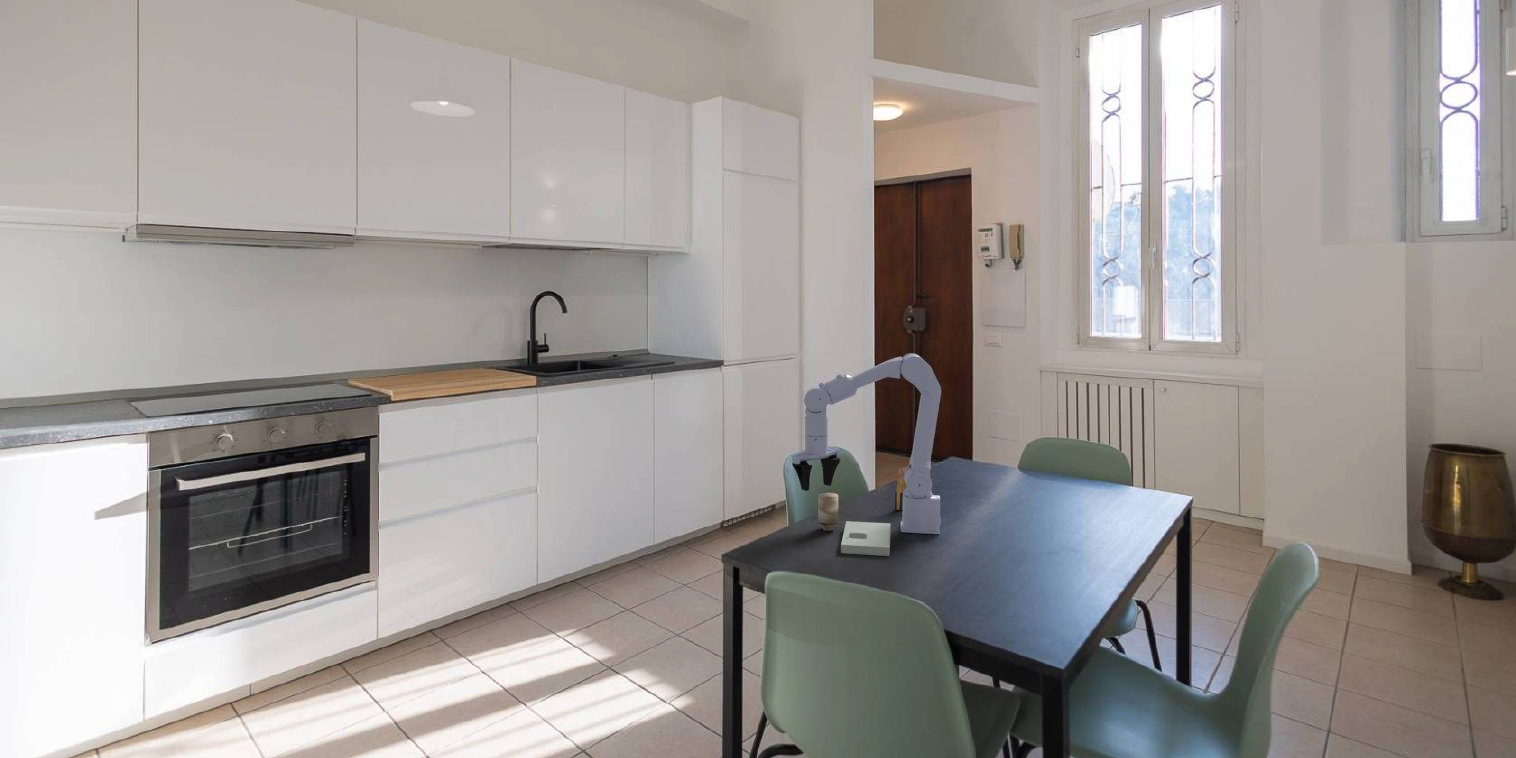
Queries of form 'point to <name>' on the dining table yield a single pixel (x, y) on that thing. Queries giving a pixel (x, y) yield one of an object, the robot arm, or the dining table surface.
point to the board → (866, 538)
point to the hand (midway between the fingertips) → (816, 487)
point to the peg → (828, 510)
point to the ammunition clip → (900, 489)
